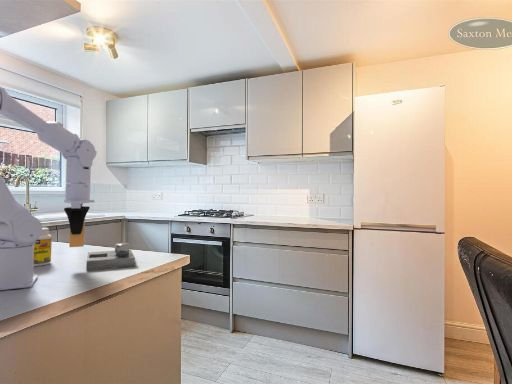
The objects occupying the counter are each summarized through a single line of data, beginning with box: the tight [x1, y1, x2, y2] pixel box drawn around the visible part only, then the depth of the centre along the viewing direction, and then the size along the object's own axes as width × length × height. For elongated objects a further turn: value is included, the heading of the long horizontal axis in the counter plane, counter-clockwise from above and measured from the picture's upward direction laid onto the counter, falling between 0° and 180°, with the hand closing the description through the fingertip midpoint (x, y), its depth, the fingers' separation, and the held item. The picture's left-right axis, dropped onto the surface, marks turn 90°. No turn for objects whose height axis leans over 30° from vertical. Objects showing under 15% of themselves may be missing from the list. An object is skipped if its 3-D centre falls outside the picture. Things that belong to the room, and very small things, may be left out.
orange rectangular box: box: [68, 219, 86, 248], centre depth 79 cm, size 3×3×7 cm
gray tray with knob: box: [85, 242, 136, 271], centre depth 85 cm, size 12×12×6 cm
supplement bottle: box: [33, 227, 53, 267], centre depth 82 cm, size 6×6×10 cm
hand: (76, 233), depth 79 cm, fingers closed on orange rectangular box, 3 cm apart
